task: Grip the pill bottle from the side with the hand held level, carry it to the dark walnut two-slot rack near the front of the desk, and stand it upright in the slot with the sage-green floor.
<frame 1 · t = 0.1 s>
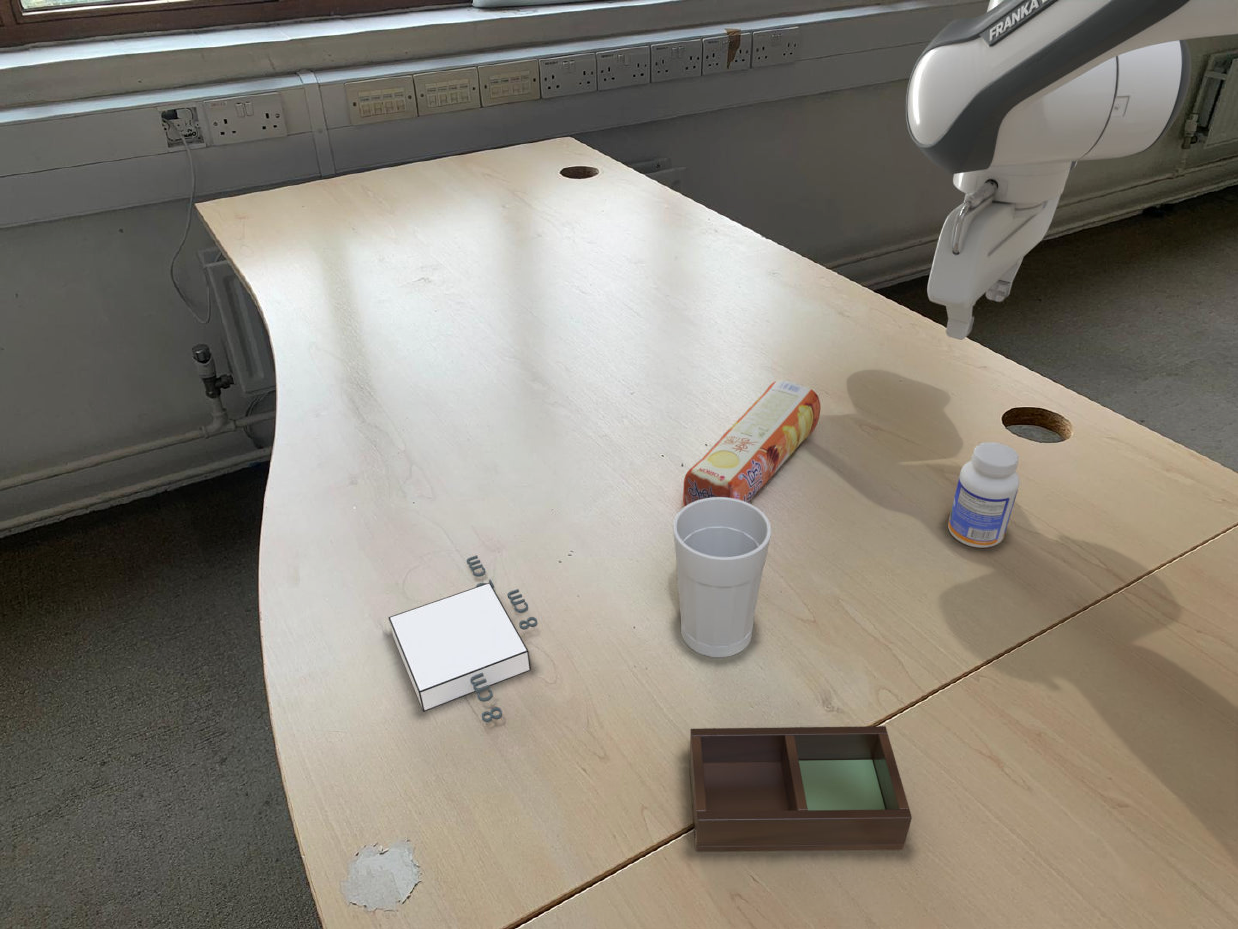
hand: (977, 316, 83), 21 cm above the table, tool pointing down, fingers open, 8 cm apart
snack package: (752, 475, 99), on the table
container: (470, 650, 79), on the table
rack: (791, 802, 66), on the table
cup: (716, 632, 80), on the table
pill bottle: (974, 533, 90), on the table
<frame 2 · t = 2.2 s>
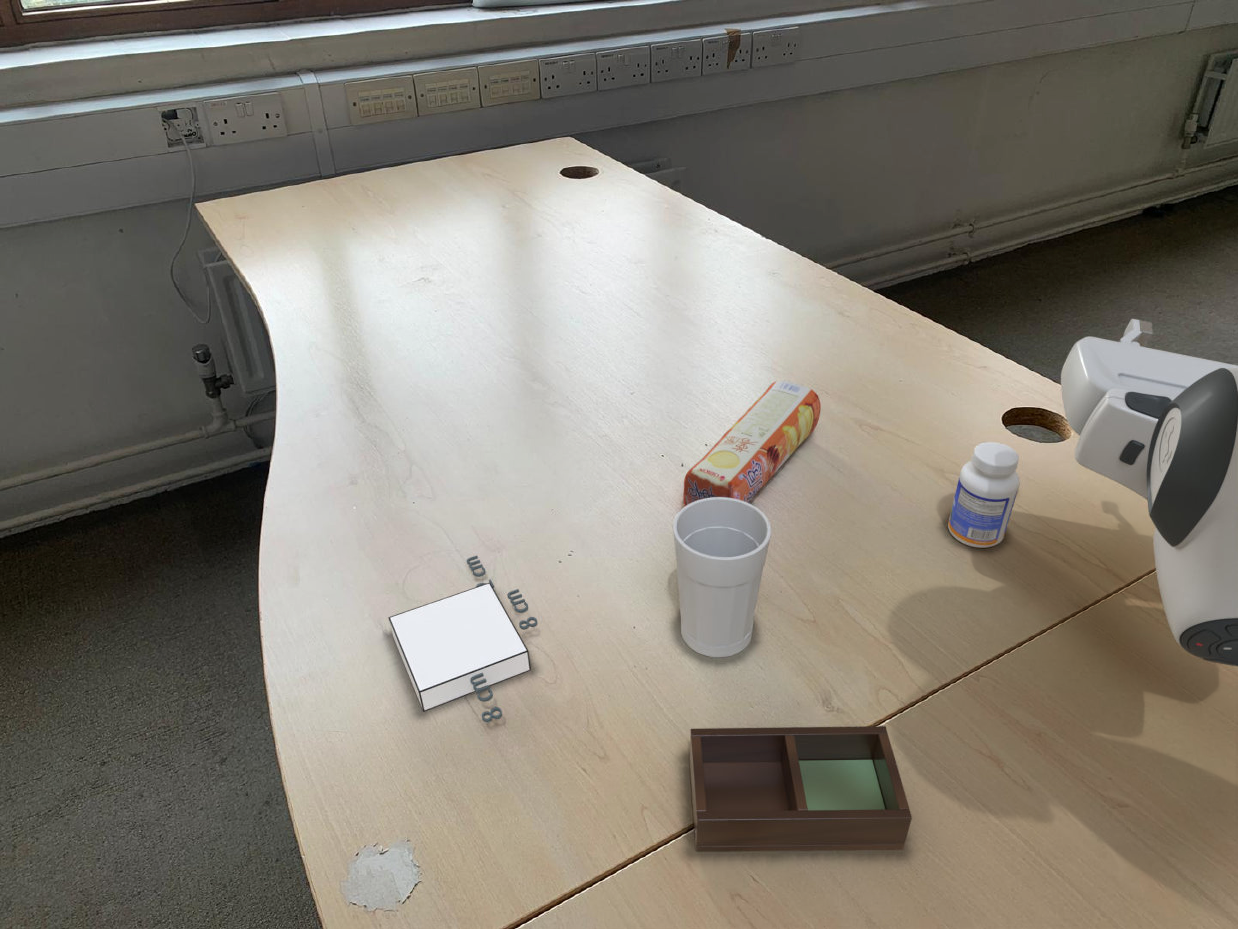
hand: (1200, 339, 72), 24 cm above the table, tool horizontal, fingers open, 8 cm apart
nothing on the table moved.
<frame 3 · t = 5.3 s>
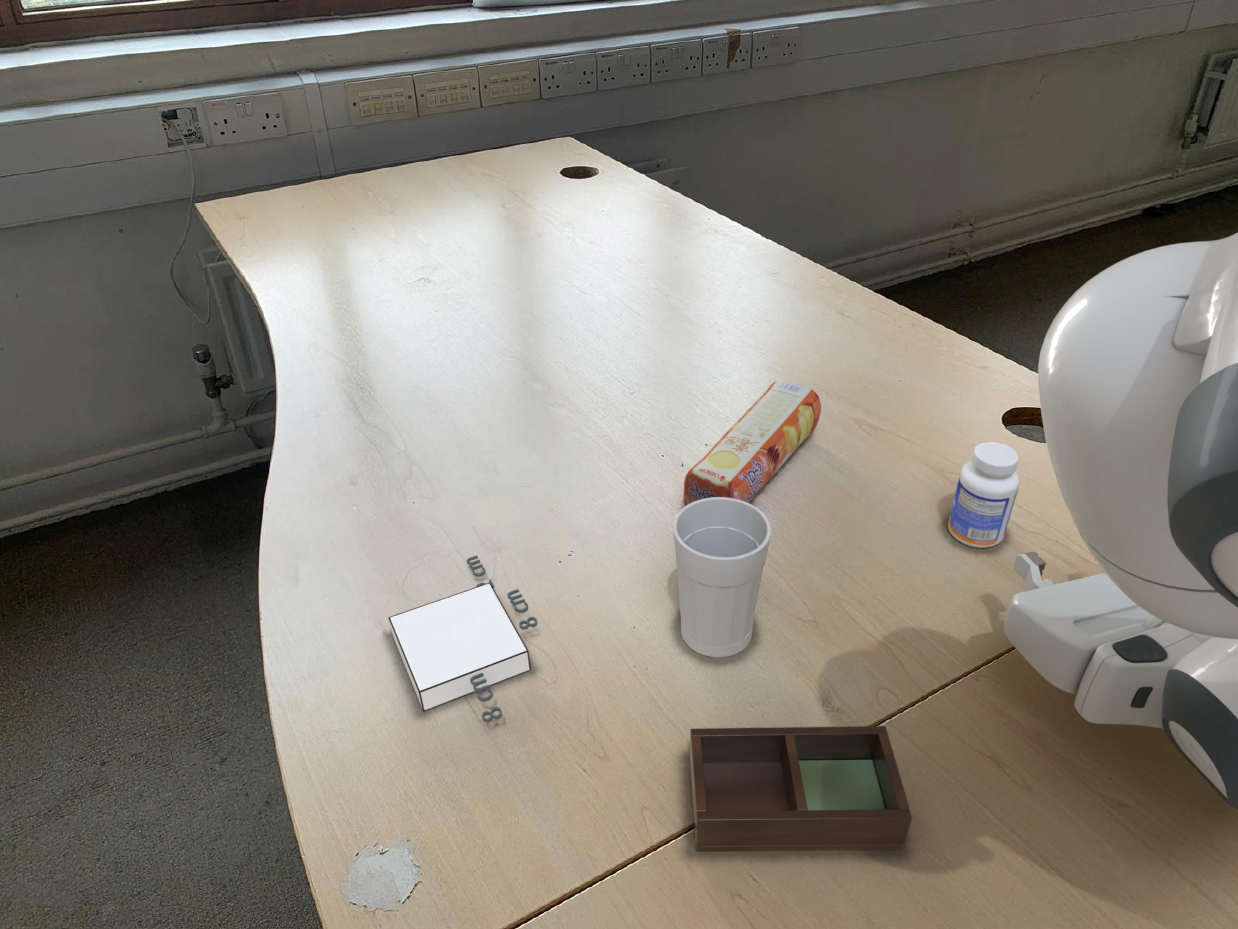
hand: (1070, 547, 76), 8 cm above the table, tool horizontal, fingers open, 8 cm apart
nothing on the table moved.
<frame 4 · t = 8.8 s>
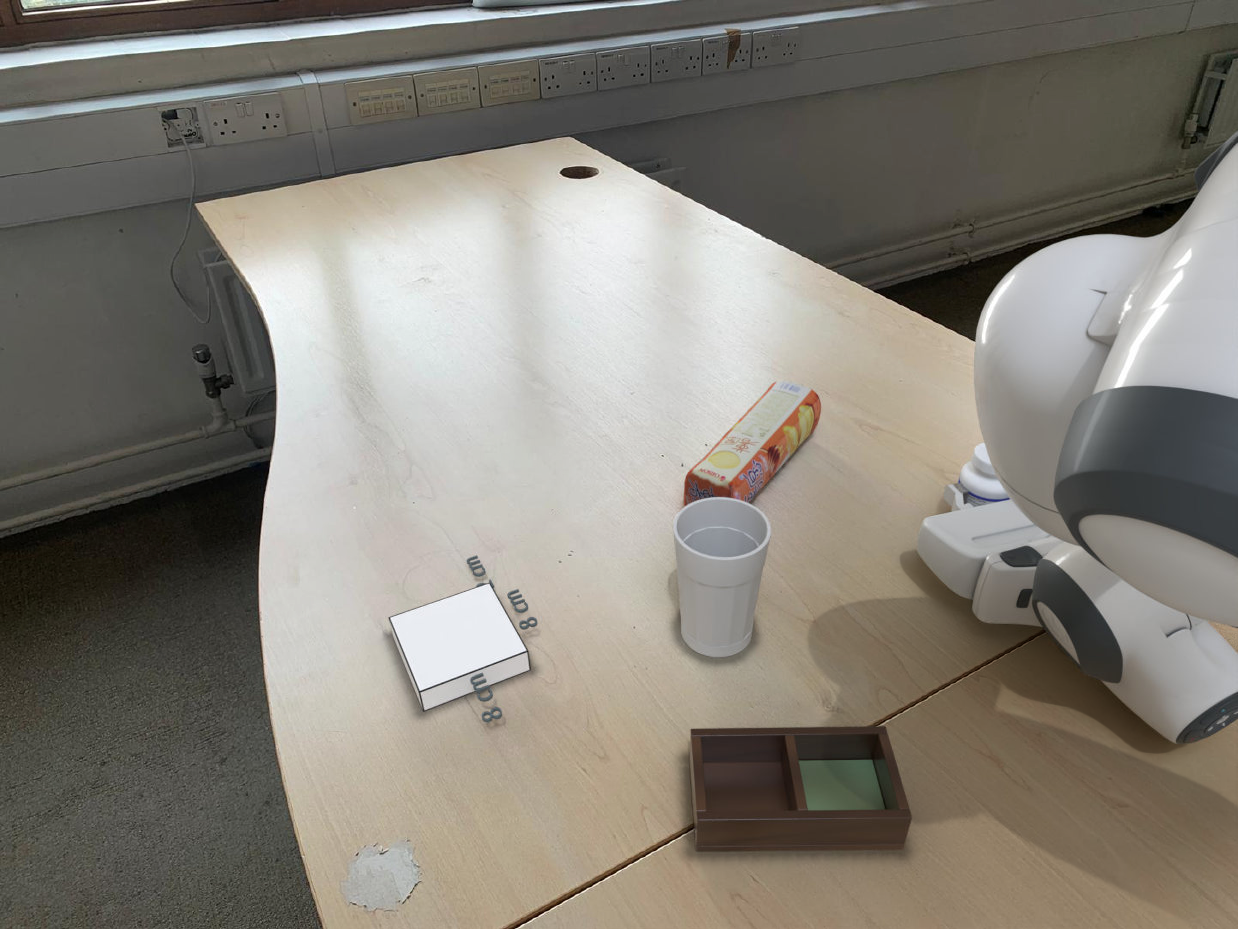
hand: (980, 482, 88), 6 cm above the table, tool horizontal, fingers closed on pill bottle, 5 cm apart
pill bottle: (974, 533, 90), on the table, touching gripper
everything else where it was.
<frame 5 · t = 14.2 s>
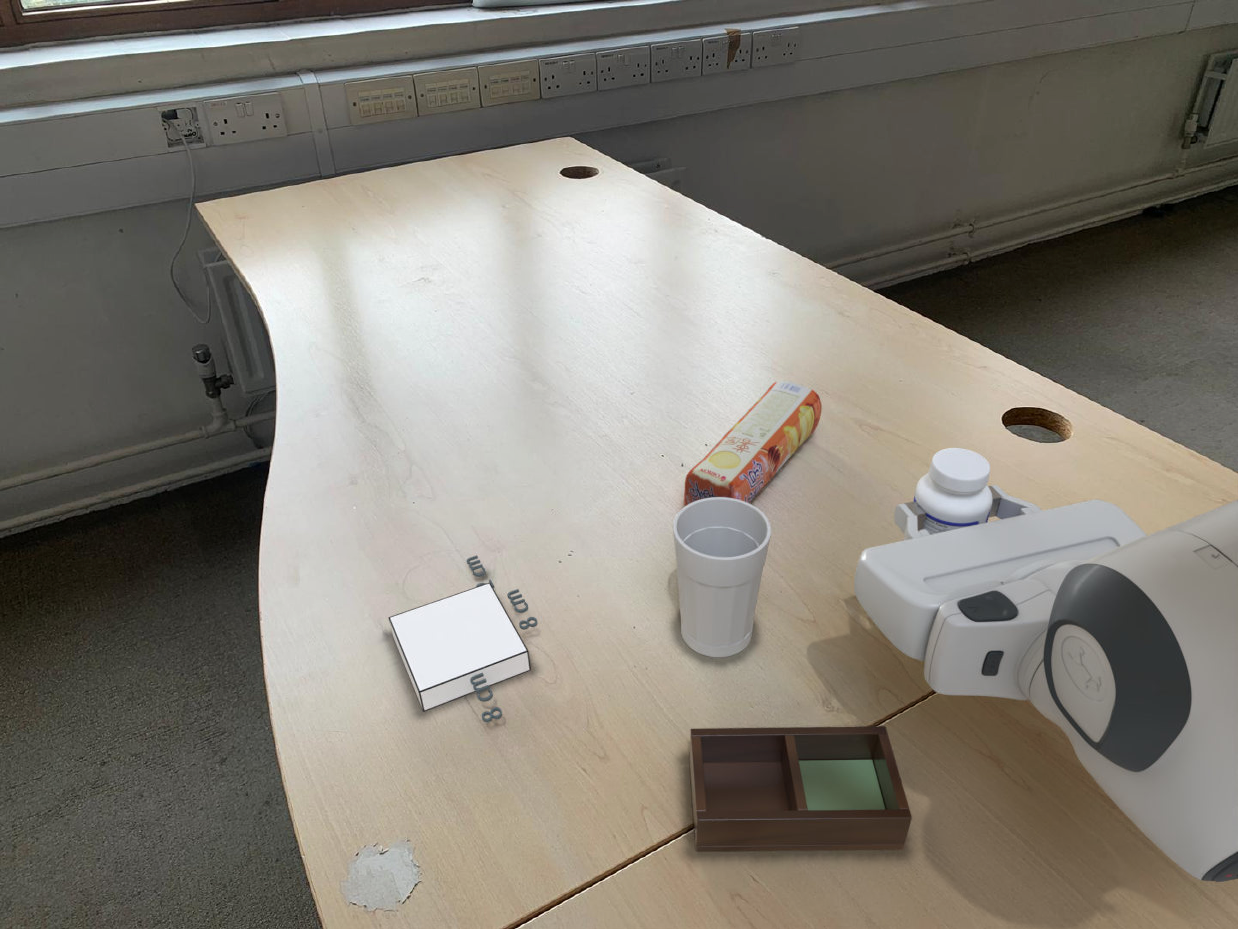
hand: (943, 501, 67), 17 cm above the table, tool horizontal, fingers closed on pill bottle, 5 cm apart
pill bottle: (937, 565, 70), point 11 cm above the table, touching gripper
everything else where it was.
when the fingers open (6 cm above the table, at t = 19.6 s): pill bottle stays where it is, resting on rack.
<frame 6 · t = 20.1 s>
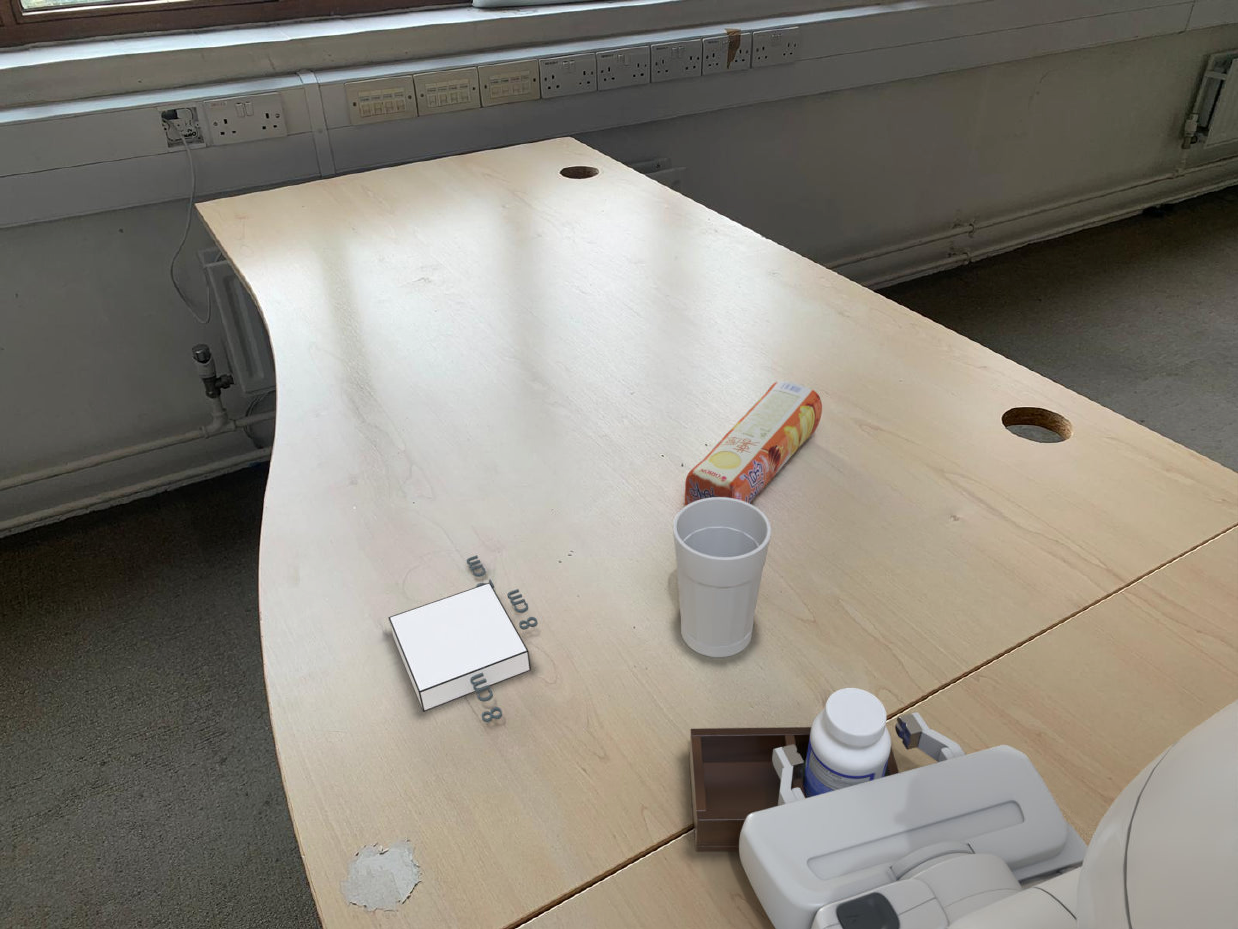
hand: (844, 735, 63), 6 cm above the table, tool horizontal, fingers open, 8 cm apart
pill bottle: (838, 798, 66), point 1 cm above the table, touching rack
everything else where it was.
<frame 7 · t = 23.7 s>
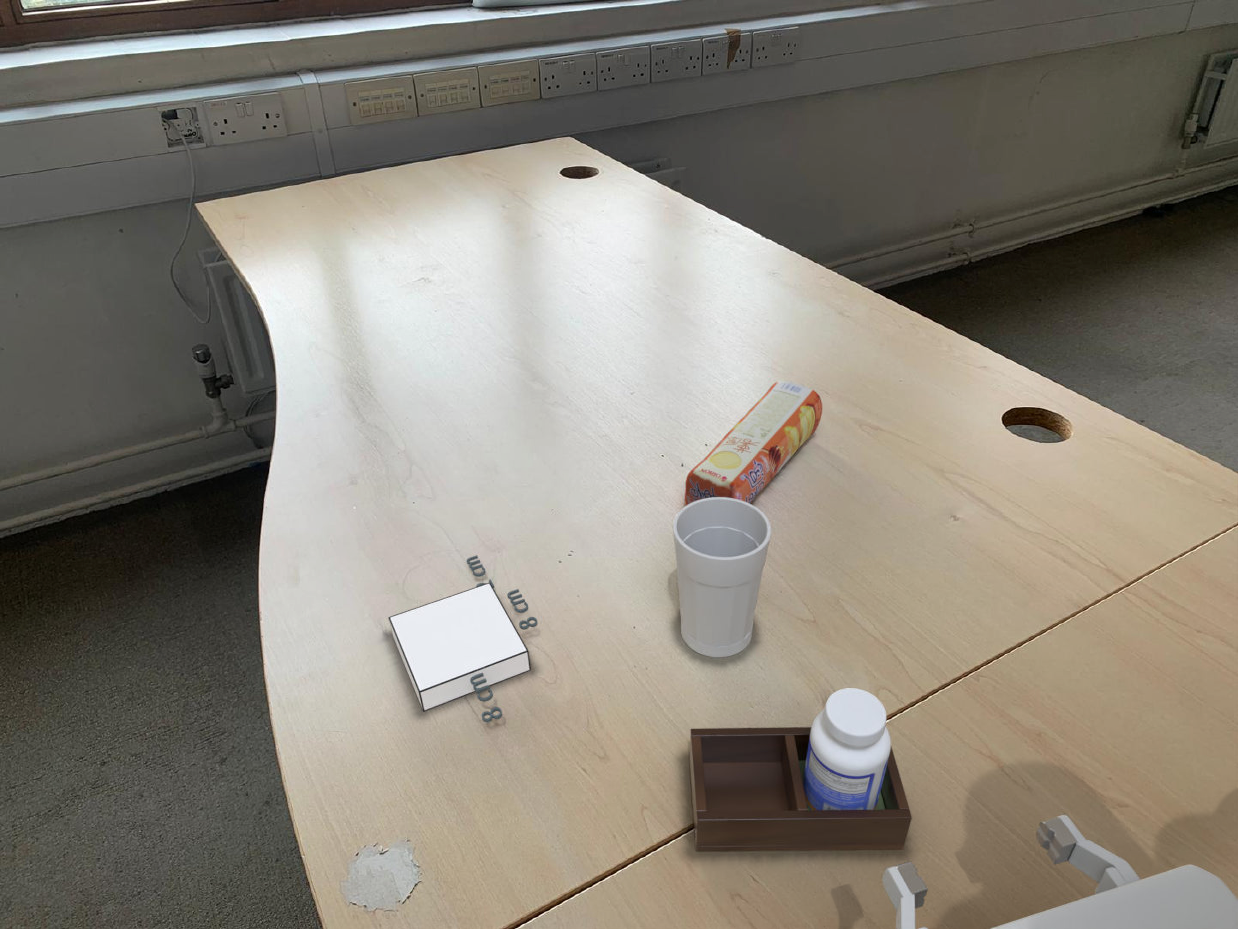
hand: (973, 846, 49), 13 cm above the table, tool horizontal, fingers open, 8 cm apart
nothing on the table moved.
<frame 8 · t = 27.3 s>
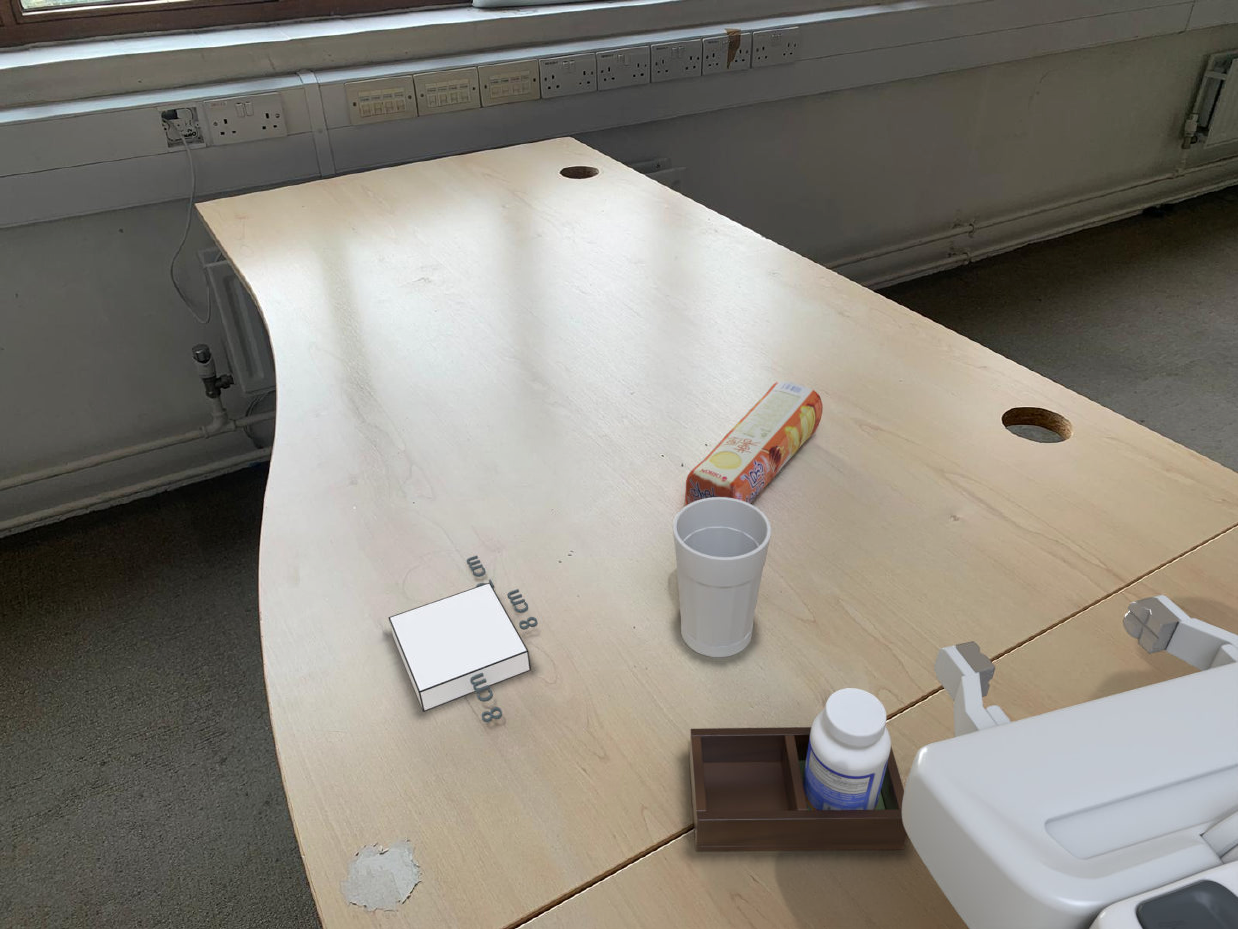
hand: (1047, 630, 39), 30 cm above the table, tool horizontal, fingers open, 8 cm apart
nothing on the table moved.
at the end: pill bottle 0.2 cm from the target spot in the rack, point 0.6 cm above the rack's base; pill bottle tilted 0°; the gripper is holding nothing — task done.
